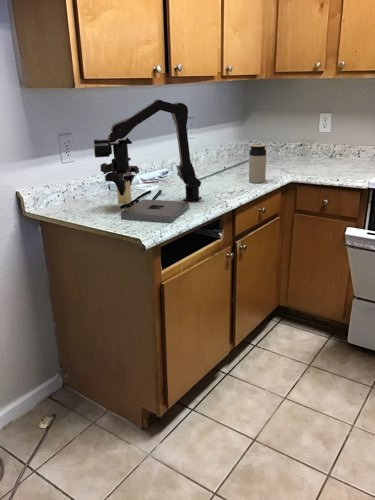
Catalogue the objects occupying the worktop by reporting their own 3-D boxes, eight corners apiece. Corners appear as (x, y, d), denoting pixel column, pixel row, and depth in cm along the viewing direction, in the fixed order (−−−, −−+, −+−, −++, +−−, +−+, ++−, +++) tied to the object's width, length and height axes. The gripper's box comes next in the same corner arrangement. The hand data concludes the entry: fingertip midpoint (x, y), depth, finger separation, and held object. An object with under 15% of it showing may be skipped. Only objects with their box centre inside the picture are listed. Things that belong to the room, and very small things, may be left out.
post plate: (143, 205, 183) (143, 199, 182) (189, 208, 177) (188, 202, 176) (121, 218, 166) (120, 212, 165) (170, 222, 159) (170, 216, 158)
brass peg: (122, 201, 185) (121, 179, 181) (131, 201, 183) (129, 180, 180) (118, 203, 181) (116, 181, 178) (127, 204, 180) (125, 182, 177)
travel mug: (252, 184, 213) (252, 146, 207) (246, 180, 221) (247, 144, 214) (267, 182, 215) (268, 145, 208) (261, 179, 222) (263, 143, 216)
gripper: (114, 151, 186) (117, 188, 192) (91, 159, 170) (95, 198, 175) (138, 152, 183) (140, 189, 188) (116, 160, 166) (120, 200, 172)
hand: (124, 194), depth 181 cm, fingers closed on brass peg, 4 cm apart
